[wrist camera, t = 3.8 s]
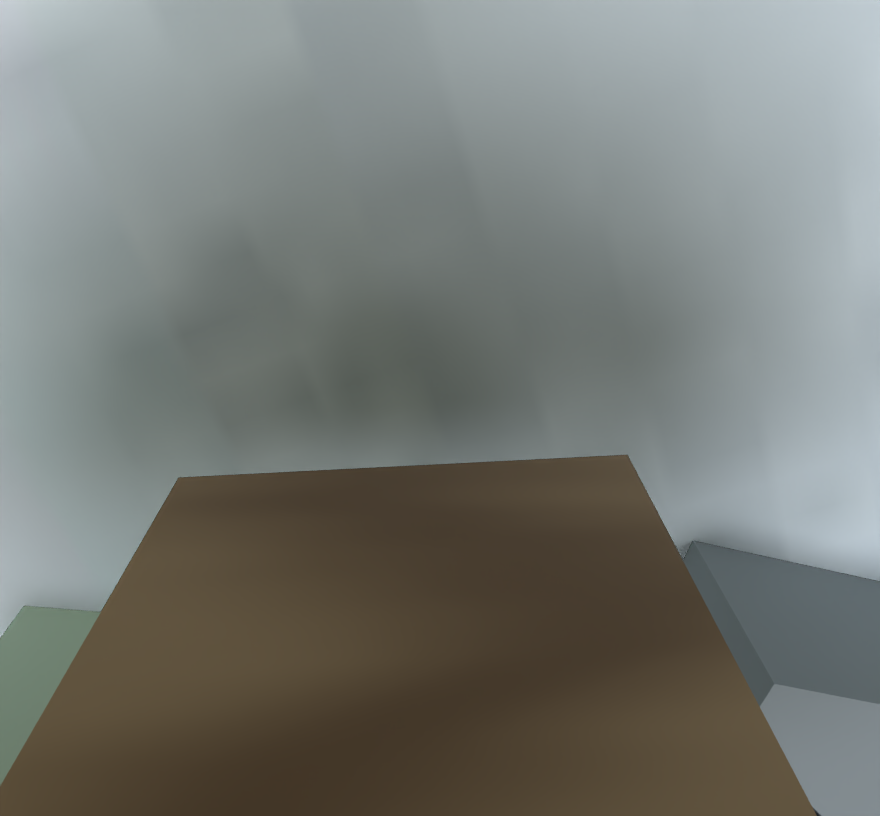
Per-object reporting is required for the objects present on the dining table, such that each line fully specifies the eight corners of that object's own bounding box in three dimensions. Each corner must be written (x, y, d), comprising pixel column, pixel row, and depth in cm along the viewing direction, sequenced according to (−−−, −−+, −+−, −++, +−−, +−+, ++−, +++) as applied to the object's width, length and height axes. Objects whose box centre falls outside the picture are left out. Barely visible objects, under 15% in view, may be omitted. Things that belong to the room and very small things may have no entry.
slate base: (819, 787, 23) (915, 961, 19) (584, 745, 22) (626, 920, 18) (957, 594, 20) (1114, 750, 15) (690, 535, 19) (773, 683, 14)
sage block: (217, 750, 22) (150, 979, 16) (44, 738, 21) (-85, 969, 16) (217, 620, 20) (140, 834, 14) (24, 604, 19) (-131, 818, 14)
